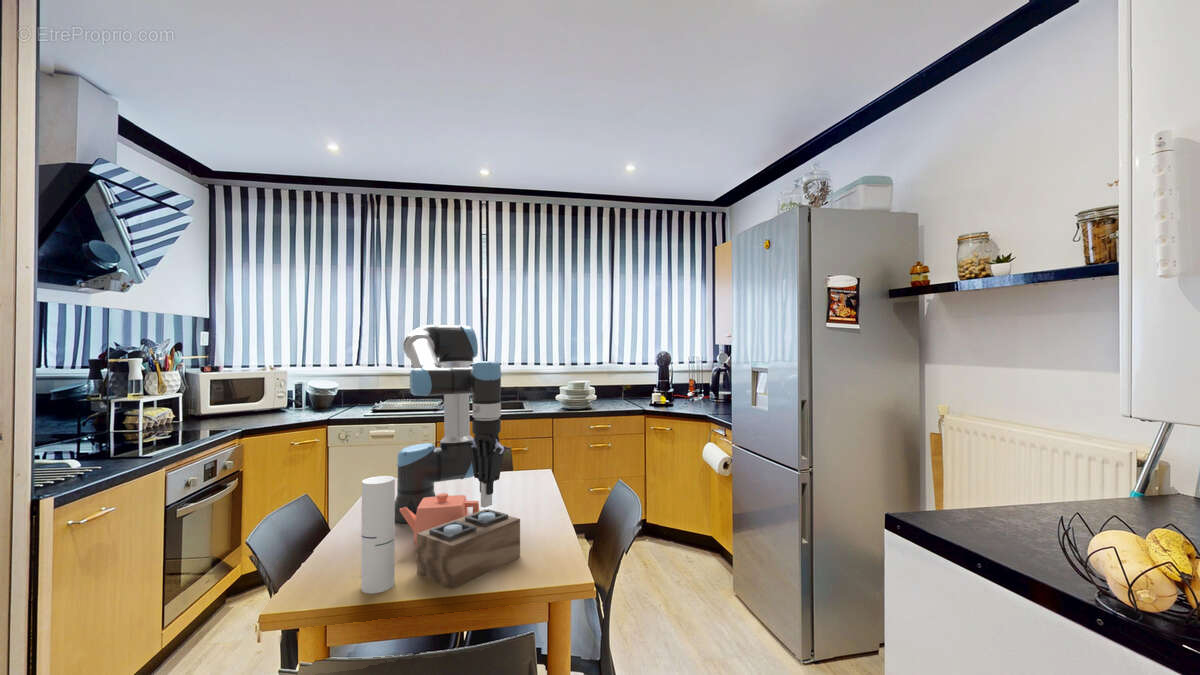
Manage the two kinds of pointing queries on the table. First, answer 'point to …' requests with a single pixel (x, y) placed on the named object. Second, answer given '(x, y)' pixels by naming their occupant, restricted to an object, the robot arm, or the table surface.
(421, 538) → the wooden peg block
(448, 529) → the peg front
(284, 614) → the table surface
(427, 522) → the teapot
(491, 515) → the peg rear
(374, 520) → the cylindrical container
